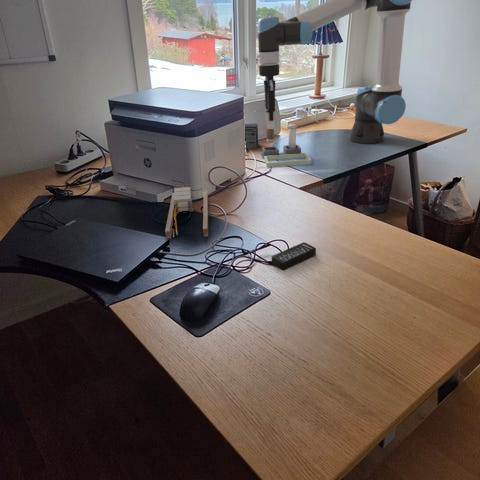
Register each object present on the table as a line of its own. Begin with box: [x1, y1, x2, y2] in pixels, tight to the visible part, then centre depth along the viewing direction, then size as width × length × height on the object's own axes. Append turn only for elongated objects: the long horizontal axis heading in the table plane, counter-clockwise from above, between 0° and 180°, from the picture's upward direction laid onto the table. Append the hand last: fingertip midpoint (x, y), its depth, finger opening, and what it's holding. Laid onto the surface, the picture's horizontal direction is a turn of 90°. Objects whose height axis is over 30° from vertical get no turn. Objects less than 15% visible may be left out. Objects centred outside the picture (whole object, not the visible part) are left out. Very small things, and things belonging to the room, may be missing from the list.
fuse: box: [287, 123, 298, 149], centre depth 171 cm, size 3×3×12 cm
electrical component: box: [172, 186, 194, 238], centre depth 125 cm, size 24×6×5 cm, turn 6°
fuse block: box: [261, 144, 302, 160], centre depth 173 cm, size 16×7×4 cm, turn 94°
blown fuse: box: [265, 111, 276, 143], centre depth 168 cm, size 3×3×12 cm
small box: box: [244, 123, 259, 149], centre depth 185 cm, size 11×6×10 cm, turn 84°
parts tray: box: [263, 152, 313, 168], centre depth 165 cm, size 17×9×2 cm, turn 94°
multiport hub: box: [271, 242, 317, 271], centre depth 102 cm, size 4×11×2 cm, turn 127°
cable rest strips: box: [164, 190, 209, 240], centre depth 127 cm, size 11×28×2 cm, turn 4°
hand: (270, 127), depth 168 cm, fingers closed on blown fuse, 3 cm apart
